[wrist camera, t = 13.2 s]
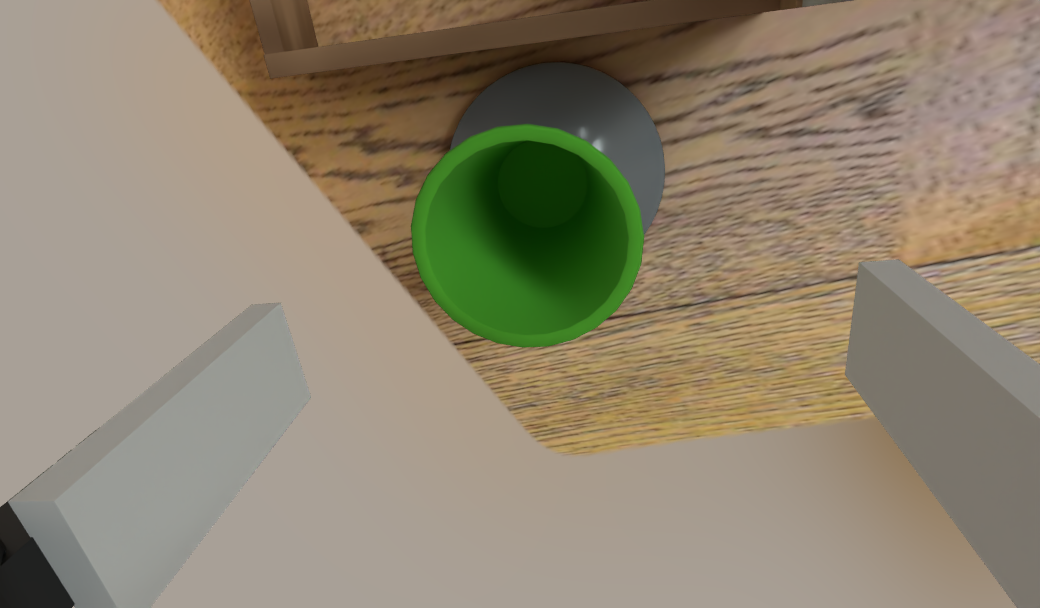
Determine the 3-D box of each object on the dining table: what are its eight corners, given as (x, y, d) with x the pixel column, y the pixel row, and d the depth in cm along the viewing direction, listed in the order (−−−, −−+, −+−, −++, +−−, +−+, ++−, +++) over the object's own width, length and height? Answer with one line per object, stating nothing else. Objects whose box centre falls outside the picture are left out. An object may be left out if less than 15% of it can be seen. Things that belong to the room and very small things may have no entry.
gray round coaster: (433, 76, 31) (429, 78, 31) (660, 47, 30) (662, 48, 29) (468, 282, 36) (465, 286, 35) (665, 267, 34) (667, 271, 34)
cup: (508, 281, 35) (478, 379, 25) (433, 142, 32) (365, 191, 22) (650, 220, 33) (679, 301, 23) (583, 63, 30) (583, 77, 20)
